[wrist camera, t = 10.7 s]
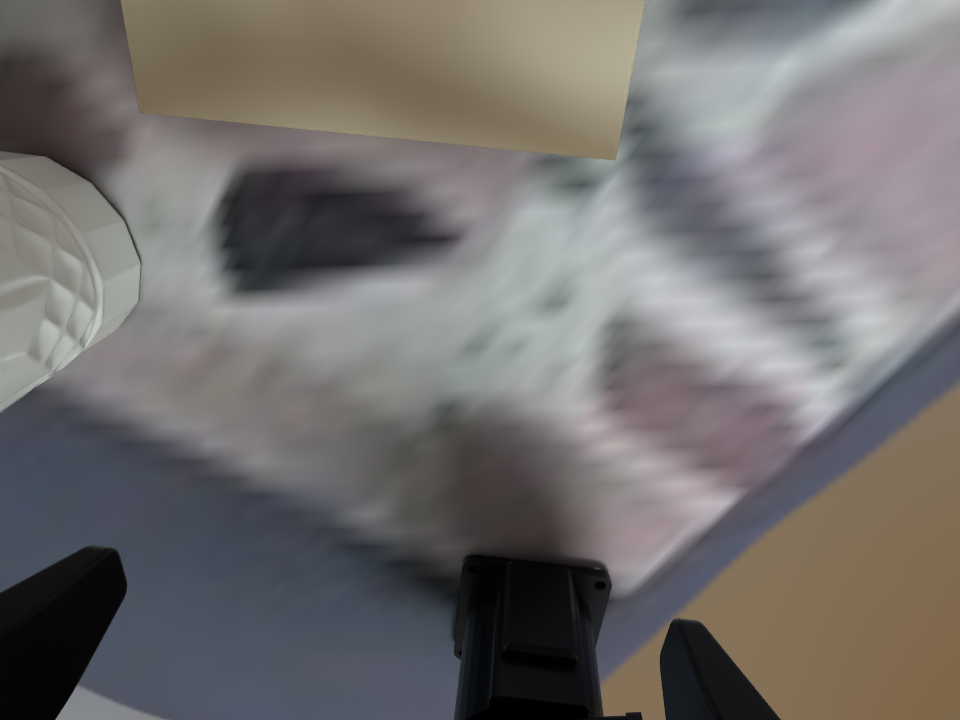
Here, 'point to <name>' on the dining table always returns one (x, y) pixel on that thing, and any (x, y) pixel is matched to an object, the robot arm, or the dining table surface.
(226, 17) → the birch board
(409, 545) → the dining table surface
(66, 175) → the white cup
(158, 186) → the dining table surface
